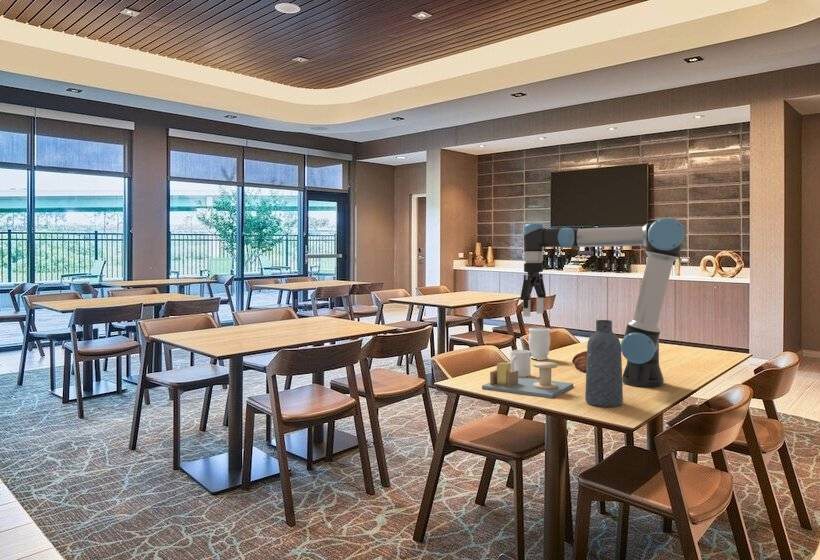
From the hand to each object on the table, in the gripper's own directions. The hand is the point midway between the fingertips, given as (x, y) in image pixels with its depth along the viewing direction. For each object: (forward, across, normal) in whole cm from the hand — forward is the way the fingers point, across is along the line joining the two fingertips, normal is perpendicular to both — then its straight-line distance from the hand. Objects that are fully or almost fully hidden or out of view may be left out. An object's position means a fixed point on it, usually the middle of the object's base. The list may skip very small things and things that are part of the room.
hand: (533, 315), depth 233 cm
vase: (+27, +22, +34) cm, 49 cm away
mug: (+27, -5, -9) cm, 29 cm away
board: (+27, +13, +3) cm, 30 cm away
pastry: (+27, -37, +11) cm, 47 cm away
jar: (+27, -48, -17) cm, 58 cm away
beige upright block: (+26, +17, -5) cm, 31 cm away
